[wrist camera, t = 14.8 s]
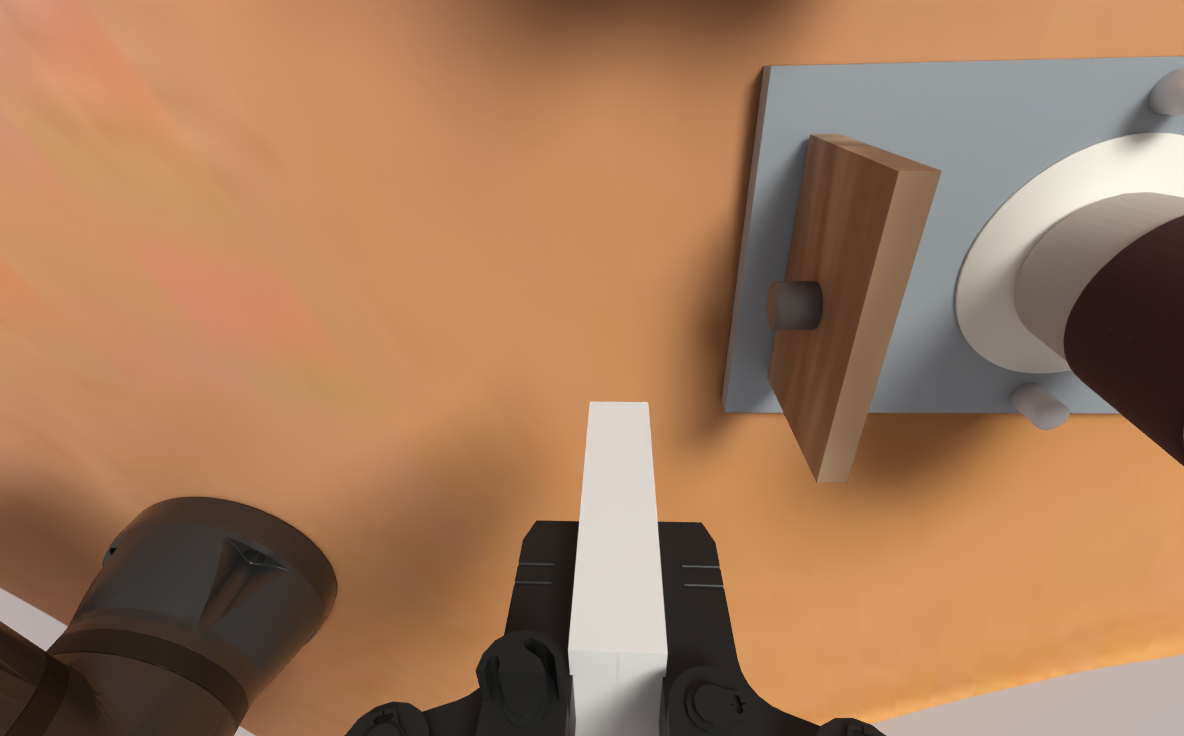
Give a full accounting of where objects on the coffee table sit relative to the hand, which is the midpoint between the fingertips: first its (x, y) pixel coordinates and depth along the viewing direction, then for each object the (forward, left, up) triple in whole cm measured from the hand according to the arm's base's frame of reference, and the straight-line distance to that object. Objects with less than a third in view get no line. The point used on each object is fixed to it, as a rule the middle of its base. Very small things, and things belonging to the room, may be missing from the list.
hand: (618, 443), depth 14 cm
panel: (+8, 0, -13) cm, 15 cm away
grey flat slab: (+18, 0, -15) cm, 23 cm away
